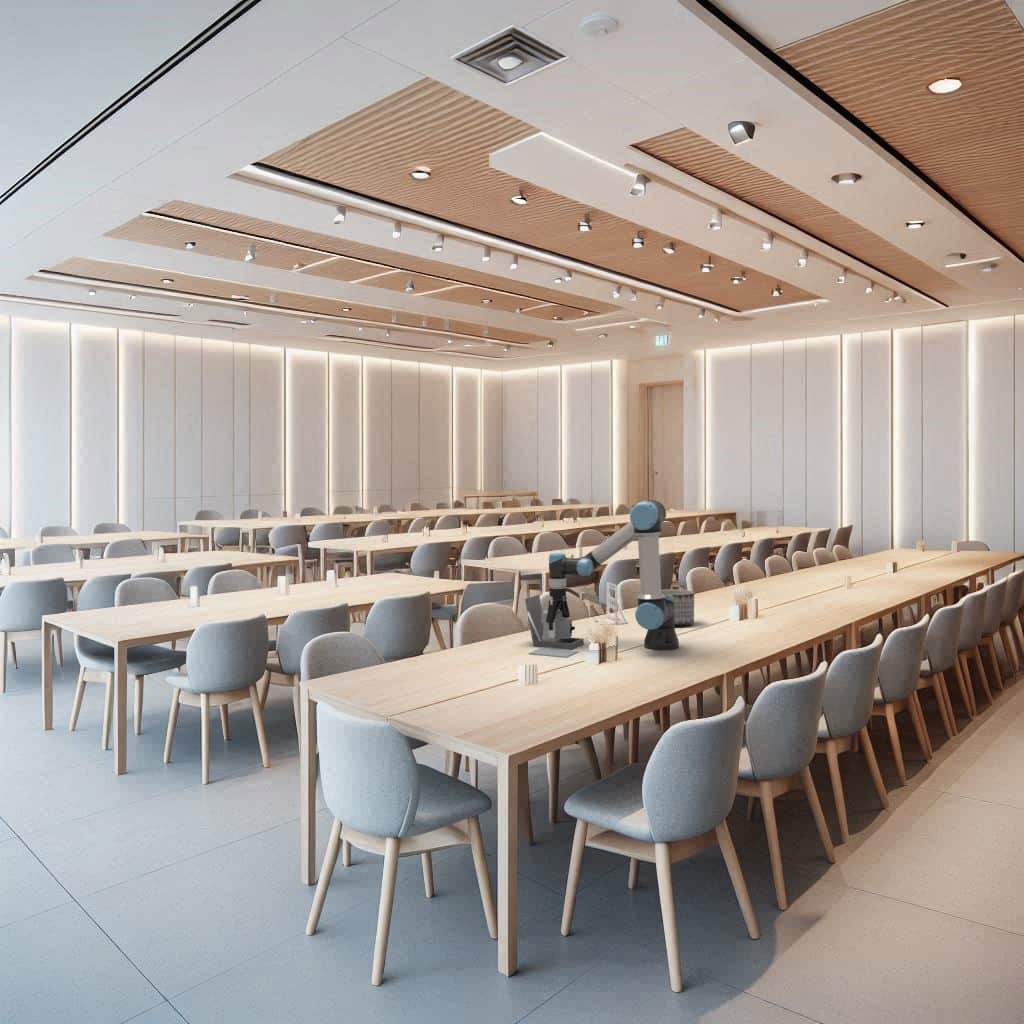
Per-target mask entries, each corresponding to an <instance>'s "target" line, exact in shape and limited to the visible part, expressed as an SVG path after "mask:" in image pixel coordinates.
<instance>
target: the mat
mask: <svg viewBox="0 0 1024 1024" xmlns="http://www.w3.org/2000/svg"><path fill="white" fill-rule="evenodd" d="M578 653H579V651H578V650H570V649H559V648H548V647H539V648H538V649H535V650H532V651H531V652H528V655H533V656H545V657H553V658H554V657H555V658H566V659H568V658H569V657H572V656H574V655H575V654H578Z"/></svg>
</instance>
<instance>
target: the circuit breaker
mask: <svg viewBox="0 0 1024 1024" xmlns="http://www.w3.org/2000/svg"><path fill="white" fill-rule="evenodd" d="M547 613H548V609H547V610H544V611H542V617H541V623H543V626H544V634H543V635H542V641H549V642H560V643H563V639H570V638H572V636H573V631H575V629H576V626H573V621H572V620H573V619H572V618H567V619H562V611H560V610H558V611H557V613H556V617H555V620H554V623H555V638H551V637H549V623H546V618H547Z"/></svg>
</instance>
